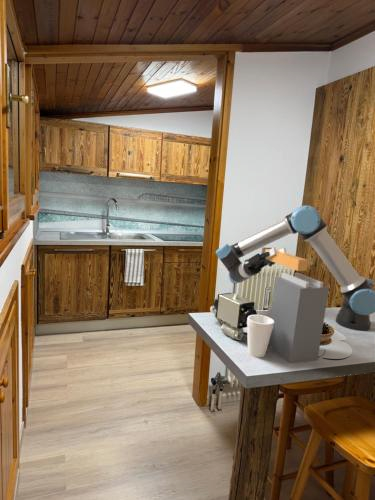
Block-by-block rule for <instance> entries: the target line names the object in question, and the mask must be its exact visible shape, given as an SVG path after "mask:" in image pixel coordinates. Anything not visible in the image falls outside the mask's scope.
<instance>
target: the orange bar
mask: <svg viewBox="0 0 375 500" xmlns="http://www.w3.org/2000/svg"><path fill="white" fill-rule="evenodd" d="M272 248H273V247H265V246H263V247H261V253H260V255H261V254H262V253H265V252H267V251H268V250H270V249H272ZM265 259H266V258H265ZM267 260H269V261H272V262H275V264H277V265H281V266H283V267H285V268H289V269H292V270H294V271H298V272H305V271H307V270H308V265H309V263H308V262H309V259H307V258H306V259H305V258H303V257H300V256H296V255H293V254H290V253H287V252H286V253H284V252H280V251H279V250H277V249H276V254H275V255H274V256H272V257H270V258H268V259H267Z"/></svg>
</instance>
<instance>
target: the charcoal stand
mask: <svg viewBox="0 0 375 500" xmlns="http://www.w3.org/2000/svg"><path fill="white" fill-rule="evenodd" d="M273 283H274V284H273V290H272V297H271V298H272V299H271V306H270V313H269V314H270V315H269V318H271V319H273V320H274V327H273V329H272V332H271V336H270V340H269V343H268V347H269V348H271V350H273V351H275V352H276V353H277V354H278V355H280V356H281V357H282V358H283V359H284V360H286V361H287V362H288V363H289V364H292V363H300V362H309V361H317V360H318V359H319V354H320V352H319V351H320V347H321V340H322V333H323V329H324V328H323V327H324V322H325V315H326V309H327V304H328V303H327V302H328V298H329V297H328V296H329V291H330V289H329V288H330V287H328V286H325V285H324V282H323V281H321V280H318V279H315V278H312V277H310V276H307V275H305V274H303V273H299V272H294V276H293V275H291V274H289V273H286V272H281V276H275V277H274V282H273Z"/></svg>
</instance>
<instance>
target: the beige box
mask: <svg viewBox="0 0 375 500" xmlns="http://www.w3.org/2000/svg"><path fill="white" fill-rule="evenodd" d="M209 309H210V312H211V313H212V314H214V318H215V319H216V320H217V321H216V322H217V323H218V324H222V323H223V320H221V319H219V318H217V317H216V310H215V308H214V304H213V305H212V306H210V308H209Z"/></svg>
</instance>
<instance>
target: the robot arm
mask: <svg viewBox="0 0 375 500" xmlns="http://www.w3.org/2000/svg"><path fill="white" fill-rule="evenodd" d="M327 230H328V224H327V223H326V222H325V220H324V219H323V218H322V216H321V215H320V213H319V211H318V210H317V208H315V207H313V206H310V205H300V206H299V207H297V208H296V209H295V210H294V211H293V212H291V213H289V214H287V215H285V216H284V218H283V219H282V220H280V221H278V222H276V223H273V224H272V225H270V226H268V227H266V228H263V229H262V230H260V231H258V232H256V233H253V234H251V235H250V236H248V237H246V238H244V239H241V240H240V241H238V242H236V243H234V244H231V245H229V244H228V243H225V244H224V245H222V246H220V247H219V248H218V249H217V250H216V251H215V254H216V256H217V258H218V259H219V260H220V262H221V263H222V264H223V266H224V267H225V269H227V271H228V279H229V281H230V282H232V283H233V284H240V283H242V282H244V281H246V280H250V278H252V277H253V276H256V275H257V274H259V273H260V272H261V271H262V269H263V268H264V267H267V266H268V267H272V266H273V265H275V264H276V263H275V262H272V261H269V260H267V259H268V258H270V257H272V256H274V255H275V254H276V250H277V249H276V247H271V248H272V249H270V250H268V251H267V252H265V253H262V252H261V253H262V254H261V253H256V254H254V255H253V256H251V257H249V258H247V259H245V260H244V261H243V262H242V261H241V260H240V258H242V257H245V256H246V255H248V254H251V253H252V252H254V251H257V250H259V249H260V248H261V249H262V247H265V246H267V245H270V244H271V243H273V242H275V241H278V240H280V239H282V238H284V237H286V236H288V235H290V234H291V235H292V234H293V235H295V234H298V235H299V236H300V238H302V240H303V241H304V242H308V243H310V245H311V246H312V248H313V249H314V250H315V252H316V253H317V255H318V256H319V258H320V259H321V260H322V262H323V263H324V265H325V267H327V269H328V270H329V271H330V273H331V274H332V276H333V277H334V279H335V280H336V282H337V283H338V284H339V285H340V293H341V295H342V296H343V298H342V304H341V307H340V309H339V311H338V313H337V315H336V316H335V322H336V323H337V324H338V325H340V326H342V327H345V328H347V329H350V330H355V331H356V330H357V331H368V330H370V329H371V326H372V325H371V324H372V323H371V318H370V315H373V314H374V313H375V289H374V286H375V281H374V280H373V279H371V278H366V276H360V274H358V272H357V270H356V269H355V268H354V267H353V265H352V264H351V262H350V261H349V259H347V257H346V255H345V254H344V253H343V251H342V250H341V249H340V247H339V246H338V244H336V242H335V240H334V239H333V238H332V236H331V235H330V234H329V232H328V231H327ZM278 251H280V252H284V253H287V250H286V247H282V248H280V249H279V250H278ZM265 258H266V259H265Z"/></svg>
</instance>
